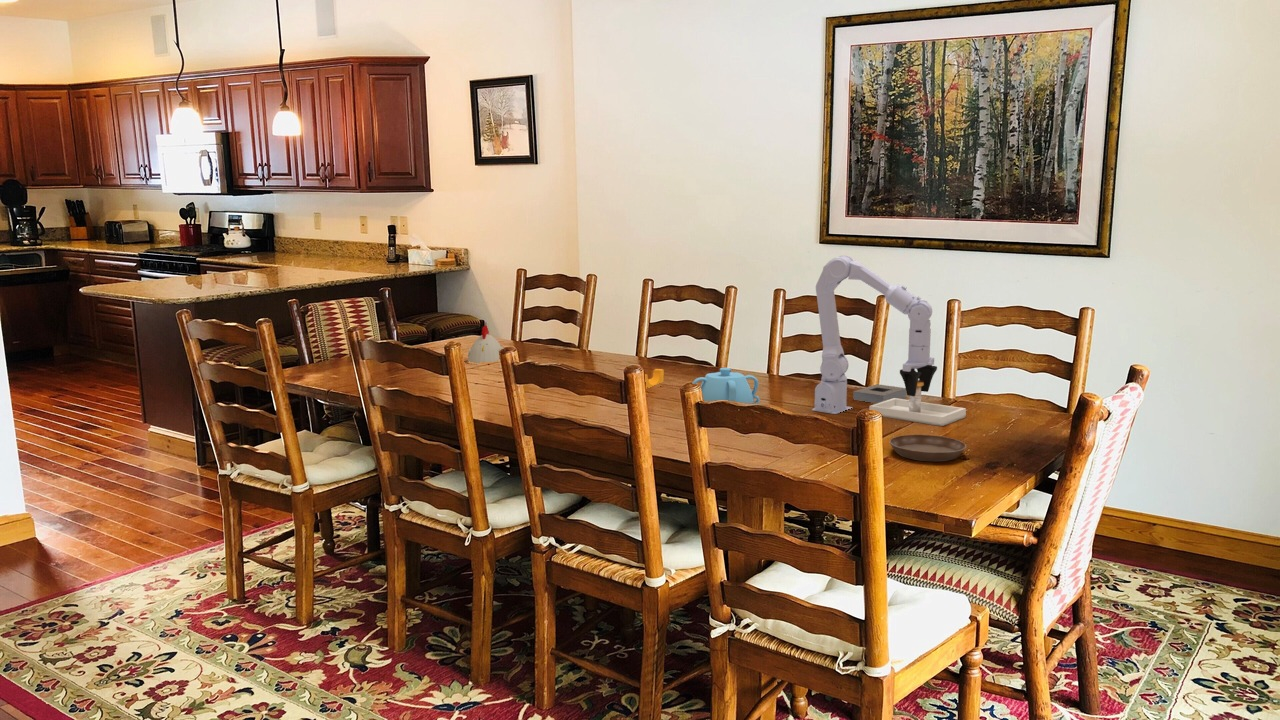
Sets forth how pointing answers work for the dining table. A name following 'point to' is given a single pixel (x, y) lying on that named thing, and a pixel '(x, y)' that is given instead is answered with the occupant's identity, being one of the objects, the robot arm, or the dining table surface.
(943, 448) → the plant saucer
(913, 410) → the gold capped clear cylinder
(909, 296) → the robot arm
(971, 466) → the dining table surface
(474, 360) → the kitchen timer
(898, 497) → the dining table surface
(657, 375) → the pipe clamp
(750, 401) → the decorative pot
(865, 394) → the block
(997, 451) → the dining table surface
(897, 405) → the tray
